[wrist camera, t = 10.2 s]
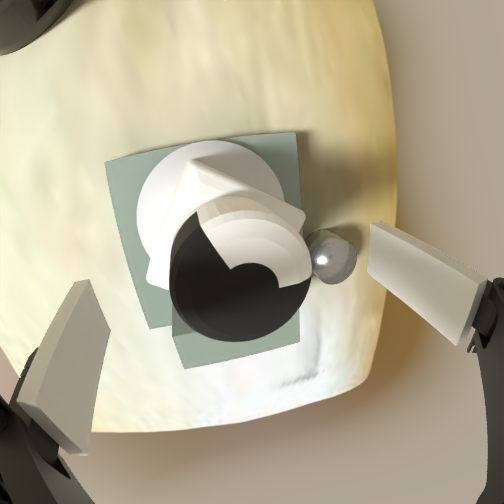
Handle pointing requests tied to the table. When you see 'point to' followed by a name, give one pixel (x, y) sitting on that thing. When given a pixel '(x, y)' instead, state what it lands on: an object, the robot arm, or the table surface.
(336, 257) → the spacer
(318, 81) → the table surface
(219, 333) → the container
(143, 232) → the scale
